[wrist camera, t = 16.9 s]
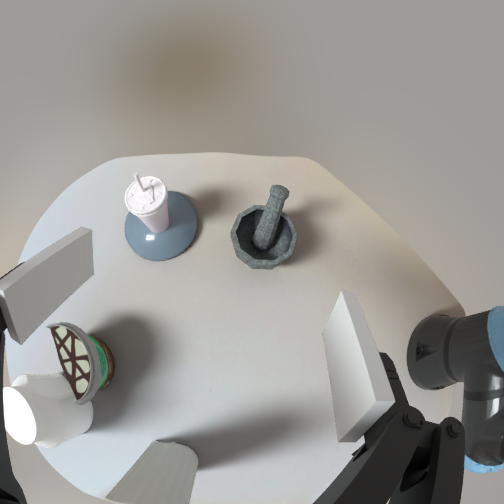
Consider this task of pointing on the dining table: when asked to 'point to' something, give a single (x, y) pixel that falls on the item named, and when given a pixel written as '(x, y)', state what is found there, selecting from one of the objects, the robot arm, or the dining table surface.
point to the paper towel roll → (158, 476)
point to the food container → (82, 360)
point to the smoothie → (149, 202)
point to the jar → (44, 410)
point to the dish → (168, 240)
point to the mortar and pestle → (265, 232)
